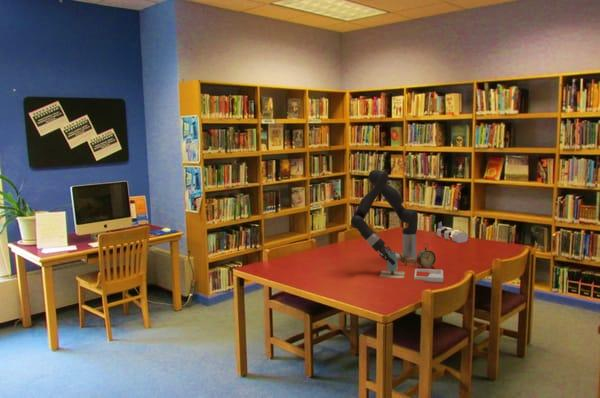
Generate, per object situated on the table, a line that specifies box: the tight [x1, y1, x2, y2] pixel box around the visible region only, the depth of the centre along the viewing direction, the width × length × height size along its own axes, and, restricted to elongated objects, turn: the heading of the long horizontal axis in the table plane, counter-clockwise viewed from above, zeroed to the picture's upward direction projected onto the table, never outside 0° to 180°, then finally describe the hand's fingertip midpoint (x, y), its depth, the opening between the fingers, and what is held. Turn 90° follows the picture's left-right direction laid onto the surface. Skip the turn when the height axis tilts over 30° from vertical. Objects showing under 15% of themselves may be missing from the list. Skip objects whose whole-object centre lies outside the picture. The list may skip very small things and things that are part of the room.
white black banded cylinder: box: [436, 221, 469, 244], centre depth 386 cm, size 25×10×13 cm, turn 19°
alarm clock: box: [416, 242, 436, 269], centre depth 309 cm, size 11×5×16 cm, turn 106°
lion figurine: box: [398, 252, 420, 268], centre depth 312 cm, size 15×5×9 cm, turn 63°
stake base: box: [379, 270, 406, 279], centre depth 296 cm, size 14×14×10 cm
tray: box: [413, 268, 444, 284], centre depth 291 cm, size 16×16×3 cm
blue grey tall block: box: [386, 251, 400, 271], centre depth 295 cm, size 5×6×10 cm
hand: (395, 262), depth 294 cm, fingers closed on blue grey tall block, 5 cm apart
